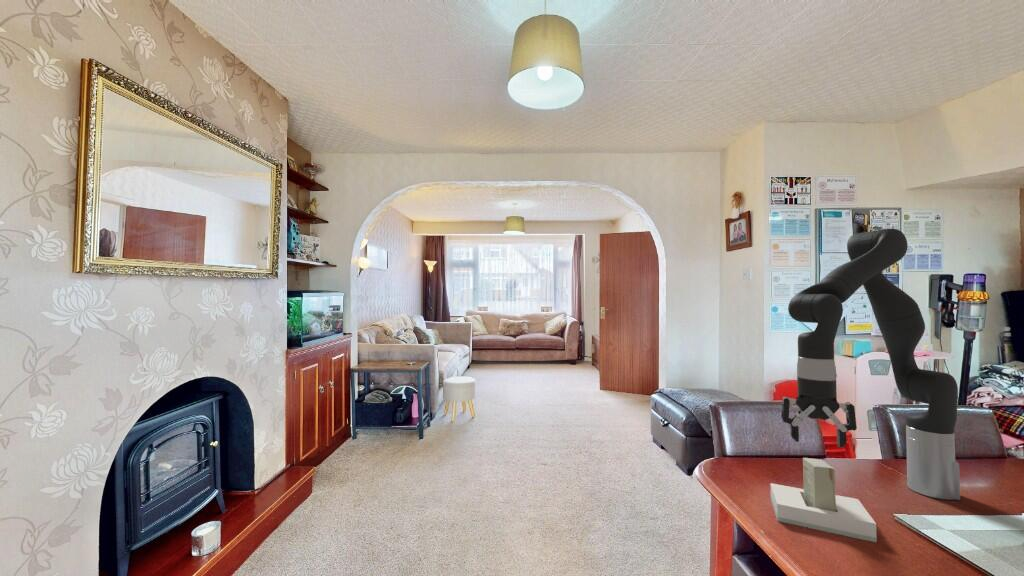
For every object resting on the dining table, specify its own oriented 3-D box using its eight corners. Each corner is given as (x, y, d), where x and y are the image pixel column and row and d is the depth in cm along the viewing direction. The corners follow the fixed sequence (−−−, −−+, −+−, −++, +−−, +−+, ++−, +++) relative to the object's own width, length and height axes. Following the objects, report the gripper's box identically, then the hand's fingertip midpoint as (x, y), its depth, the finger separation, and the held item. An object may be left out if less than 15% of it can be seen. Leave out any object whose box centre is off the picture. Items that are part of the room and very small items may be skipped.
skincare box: (837, 522, 91) (836, 469, 92) (815, 519, 93) (814, 467, 93) (823, 508, 98) (822, 458, 98) (802, 506, 99) (802, 456, 99)
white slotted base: (858, 515, 96) (857, 499, 97) (876, 542, 86) (876, 523, 86) (770, 498, 105) (770, 483, 105) (777, 521, 94) (777, 503, 94)
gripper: (848, 375, 96) (850, 443, 96) (778, 371, 103) (780, 434, 102) (859, 381, 89) (861, 454, 89) (783, 376, 96) (784, 444, 95)
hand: (817, 443), depth 96 cm, fingers open, 8 cm apart
